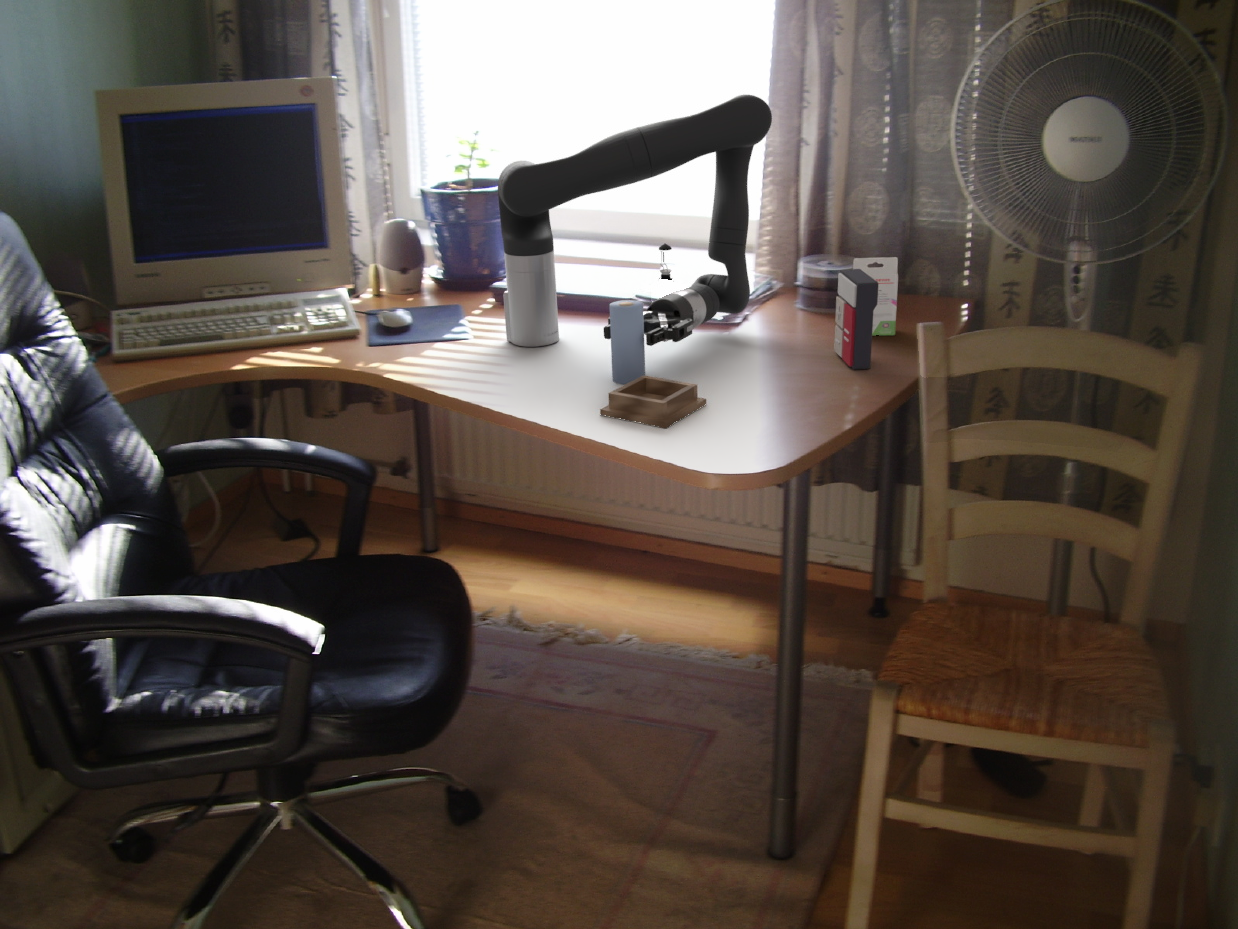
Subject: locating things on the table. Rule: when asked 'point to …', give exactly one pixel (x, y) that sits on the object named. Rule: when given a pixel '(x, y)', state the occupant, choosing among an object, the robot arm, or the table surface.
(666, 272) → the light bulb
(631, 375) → the blue-grey tall cylinder
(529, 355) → the table surface
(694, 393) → the walnut holder
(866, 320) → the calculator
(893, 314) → the ink box
